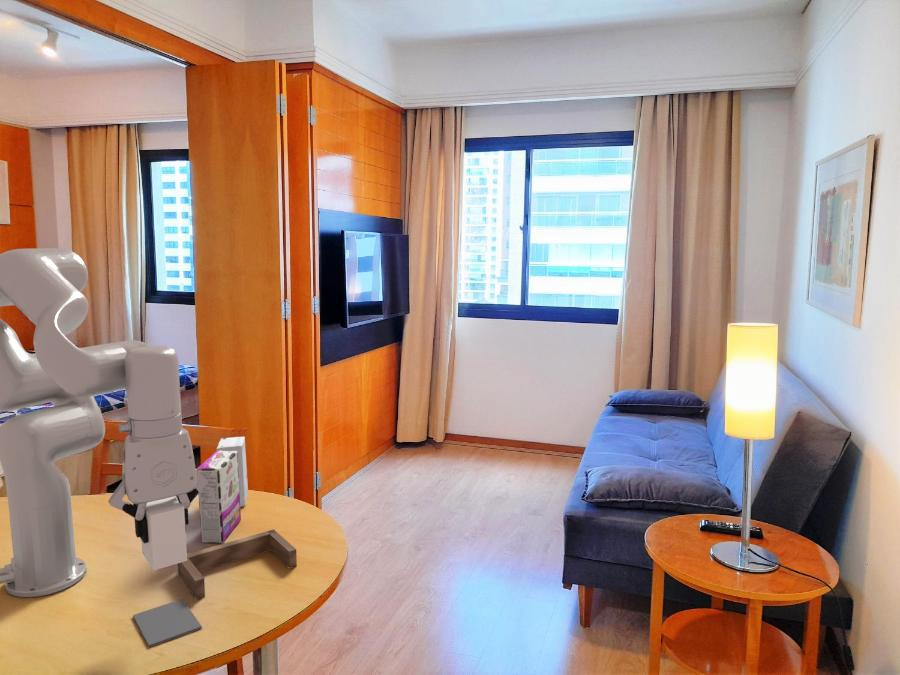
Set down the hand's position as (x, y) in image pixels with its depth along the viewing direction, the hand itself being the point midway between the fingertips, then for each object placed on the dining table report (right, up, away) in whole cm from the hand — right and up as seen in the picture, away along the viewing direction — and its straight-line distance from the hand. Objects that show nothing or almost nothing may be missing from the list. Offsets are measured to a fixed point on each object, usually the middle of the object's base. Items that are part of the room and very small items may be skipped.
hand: (162, 533), depth 103 cm
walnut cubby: (+6, -13, +19) cm, 24 cm away
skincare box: (-6, -8, +51) cm, 51 cm away
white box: (0, -4, +1) cm, 4 cm away
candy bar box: (-3, -10, +35) cm, 36 cm away
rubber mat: (0, -16, +3) cm, 16 cm away
